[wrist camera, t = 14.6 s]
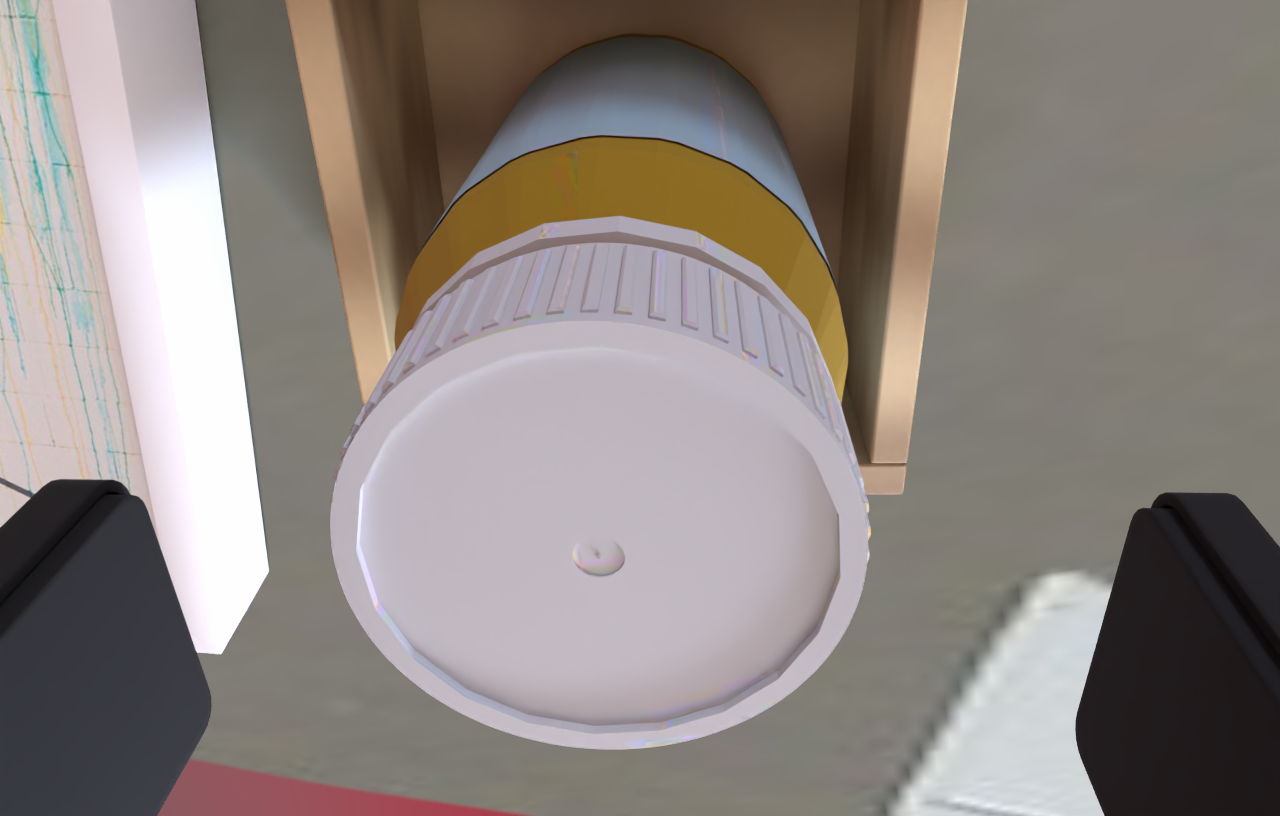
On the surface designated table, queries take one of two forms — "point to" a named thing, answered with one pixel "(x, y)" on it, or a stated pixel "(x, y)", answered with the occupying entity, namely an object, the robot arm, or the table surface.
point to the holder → (705, 16)
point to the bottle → (612, 420)
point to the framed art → (124, 290)
